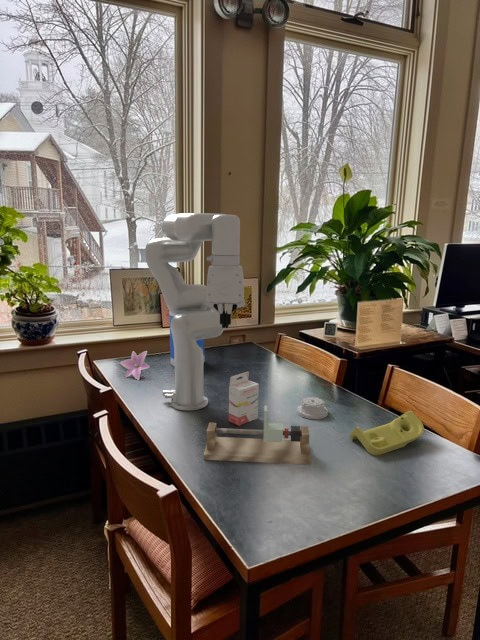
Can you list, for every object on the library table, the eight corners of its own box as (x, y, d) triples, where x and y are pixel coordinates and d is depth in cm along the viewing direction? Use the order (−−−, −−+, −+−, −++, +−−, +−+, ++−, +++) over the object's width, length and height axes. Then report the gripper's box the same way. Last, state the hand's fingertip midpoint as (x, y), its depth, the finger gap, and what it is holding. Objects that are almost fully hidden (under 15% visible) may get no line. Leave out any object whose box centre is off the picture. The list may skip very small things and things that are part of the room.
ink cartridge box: (239, 426, 142) (239, 380, 139) (228, 421, 145) (228, 376, 142) (258, 418, 148) (259, 374, 145) (247, 413, 151) (248, 370, 148)
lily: (119, 375, 188) (113, 358, 182) (144, 359, 193) (138, 343, 187) (135, 391, 181) (129, 375, 175) (160, 375, 186) (155, 358, 180)
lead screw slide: (203, 459, 123) (203, 433, 121) (208, 441, 133) (208, 416, 131) (311, 464, 121) (312, 438, 119) (308, 445, 131) (309, 420, 129)
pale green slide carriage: (263, 441, 124) (264, 410, 122) (263, 435, 128) (264, 405, 126) (282, 442, 124) (283, 411, 122) (282, 436, 127) (283, 406, 125)
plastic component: (375, 451, 124) (353, 422, 131) (367, 467, 128) (346, 439, 135) (431, 432, 132) (407, 406, 138) (421, 448, 136) (399, 422, 143)
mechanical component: (295, 418, 149) (326, 421, 147) (295, 405, 148) (327, 408, 146) (298, 406, 158) (328, 409, 156) (299, 393, 157) (329, 396, 155)
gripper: (196, 262, 124) (196, 329, 128) (252, 263, 123) (251, 331, 127) (200, 259, 131) (200, 323, 135) (253, 260, 130) (252, 324, 134)
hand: (225, 326), depth 131 cm, fingers closed
